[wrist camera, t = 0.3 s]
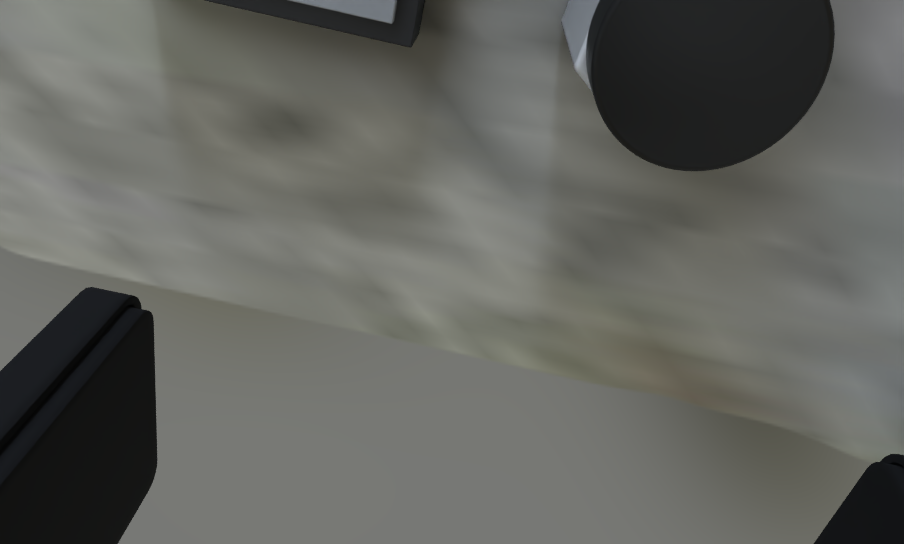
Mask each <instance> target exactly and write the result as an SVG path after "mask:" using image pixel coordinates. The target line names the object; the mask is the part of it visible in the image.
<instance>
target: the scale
mask: <svg viewBox="0 0 904 544" xmlns="http://www.w3.org/2000/svg"><path fill="white" fill-rule="evenodd" d="M205 1H210V2H214V3H218V4H223V5H227V6H232V7H236V8H240V9H245V10H249V11H253V12H258V13H262V14H266V15H271V16H275V17H280V18H284V19H288V20H293V21H297V22H301V23H306V24H310V25H315V26H319V27H323V28H328V29H332V30H336V31H341V32H345V33H349V34H354V35H358V36H363V37H367V38H371V39H376V40H380V41H384V42H389V43H393V44H397V45H402V46H406V47H412V45H413V43H414V41H415V40H416V38H417V36H418V34H419V30H420V25H421V19H422V13H423V7H424V2H425V0H205Z"/></svg>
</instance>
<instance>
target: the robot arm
mask: <svg viewBox="0 0 904 544" xmlns="http://www.w3.org/2000/svg"><path fill="white" fill-rule="evenodd" d="M153 322H154V321H153V315H152V313H151V312H150V311H147V310H142V309H141V303H140V301H139V299H138V298H137V297H135V296H132V295H127V294H123V293H118V292H113V291H108V290H103V289H99V288H94V287H90V288H86V289H84V290H83V291H81V292H80V293H79V294H78V295H77V296H76V297H75V298H74V299H73V300H72V301H71V302H70V303H69V304H68V305H67V306H66V307H65V308H64V309H63V310H62V311H61V312H60V313H59V314H58V315H57V316H56V317H55V318H54V319H53V320H52V321H51V322H50V323H49V324H48V325H47V326H46V327H45V328H44V329H43V330H42V331H41V332H40V333H39V334H38V335H37V336H36V337H34V339H32V340H31V342H30V343H28V344H27V346H25V347H24V348H23V349H22V350H21V351H20V352H19V353H18V354H17V355H16V356H15V357H14V358H13V359H12V360H11V361H10V362H9V363H8V364H7V365H6V366H5V367H4V368H3V369H2V370H1V371H0V544H118V542H119V540H120V539H121V537H122V535H123V534H124V532H125V530H126V528H127V527H128V525H129V523H130V522H131V520H132V518H133V517H134V515H135V513H136V511H137V510H138V508H139V506H140V505H141V503H142V501H143V499H144V498H145V496H146V494H147V493H148V491H149V489H150V487H151V484H152V482H153V479H154V476H155V473H156V468H157V436H156V435H157V433H156V396H155V357H154V323H153ZM814 544H904V455H900V454H890V455H888V456H886V457H884V458H883V459H882V460H881V461H880V462H875V463H873V464H871V465H870V466H869V467H868V468H867V469H866V471H865V472H864V473H863V475H862V476H861V478H860V479H859V480H858V482H857V483H856V485H855V486H854V488H853V489H852V490H851V492H850V493H849V495H848V496H847V497H846V499H845V501H844V502H843V503H842V505H841V506H840V508H839V509H838V510H837V512H836V513H835V515H834V516H833V517H832V519H831V520H830V521H829V523H828V525H827V526H826V527H825V529H824V530H823V532H822V533H821V534H820V536H819V537H818V539H817V540H816V541H815V543H814Z"/></svg>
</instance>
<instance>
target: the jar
mask: <svg viewBox="0 0 904 544" xmlns="http://www.w3.org/2000/svg"><path fill="white" fill-rule="evenodd" d="M561 23H562V27H563V30H564V34H565V37H566V41H567V44H568V48H569V51H570V55H571V58H572V62H573V65H574V69H575V71H576V72H577V73H578V75H579V76H580V77H581V78H582V80H583V81H584V82H585V83H586V85H587V86H588V87H589V88H590V90H591V91H592V92H593V95H594V98H595V101H596V104H597V107H598V110H599V112H600V114H601V117H602V118H603V120H604V122H605V124H606V125H607V127H608V128H609V130H610V131H611V133H612V134H613V135H614V136H615V137H616V139H617V140H618V141H619V142H620V143H621V144H622V145H623V146H625V147H626V148H627V149H628V150H630V151H631V152H632V153H634V154H635V155H637V156H639V157H640V158H642V159H644V160H646V161H648V162H650V163H653V164H655V165H658V166H661V167H665V168H669V169H674V170H682V171H706V170H713V169H719V168H723V167H728V166H731V165H734V164H737V163H740V162H742V161H745V160H747V159H749V158H751V157H753V156H755V155H757V154H759V153H761V152H763V151H764V150H766V149H768V148H769V147H771V146H772V145H773V144H775V143H776V142H777V141H779V140H780V139H781V138H783V137H784V136H785V135H786V134H787V133H788V132H789V131H790V130H791V129H792V128H793V127H794V126H795V125H796V124H797V123H798V122H799V121H800V120H801V119H802V117H803V116H804V115H805V114H806V112H807V111H808V110H809V108H810V107H811V105H812V104H813V102H814V101H815V99H816V97H817V96H818V94H819V92H820V90H821V88H822V86H823V84H824V81H825V79H826V76H827V73H828V71H829V67H830V63H831V60H832V54H833V48H834V36H835V33H834V19H833V12H832V8H831V4H830V0H569V2H568V5H567V7H566V10H565V12H564V15H563V17H562V20H561Z"/></svg>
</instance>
